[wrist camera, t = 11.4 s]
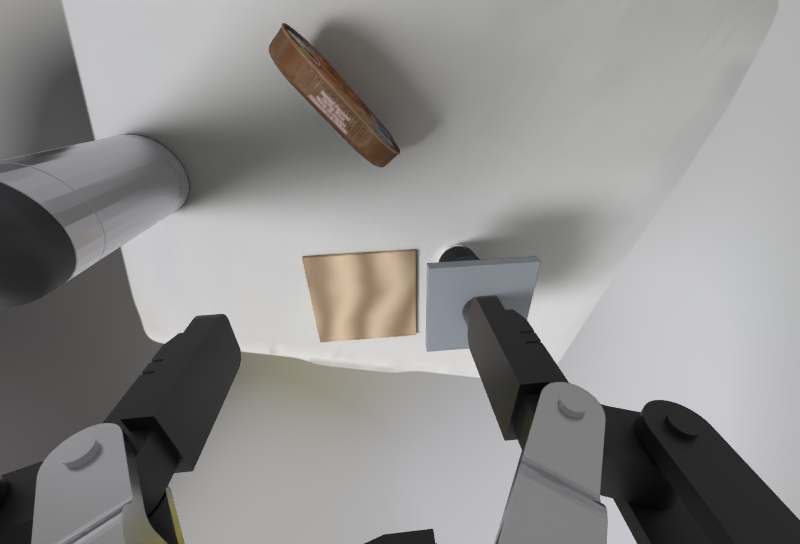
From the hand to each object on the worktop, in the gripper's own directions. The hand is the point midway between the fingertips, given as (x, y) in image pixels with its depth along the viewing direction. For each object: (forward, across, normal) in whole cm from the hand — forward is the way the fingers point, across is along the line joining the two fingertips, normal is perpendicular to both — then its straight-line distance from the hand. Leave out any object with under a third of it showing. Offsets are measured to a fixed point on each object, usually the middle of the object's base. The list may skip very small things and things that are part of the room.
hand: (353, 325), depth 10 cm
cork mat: (+32, +2, +22) cm, 39 cm away
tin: (+32, +2, -5) cm, 33 cm away
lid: (+21, -12, +16) cm, 29 cm away
